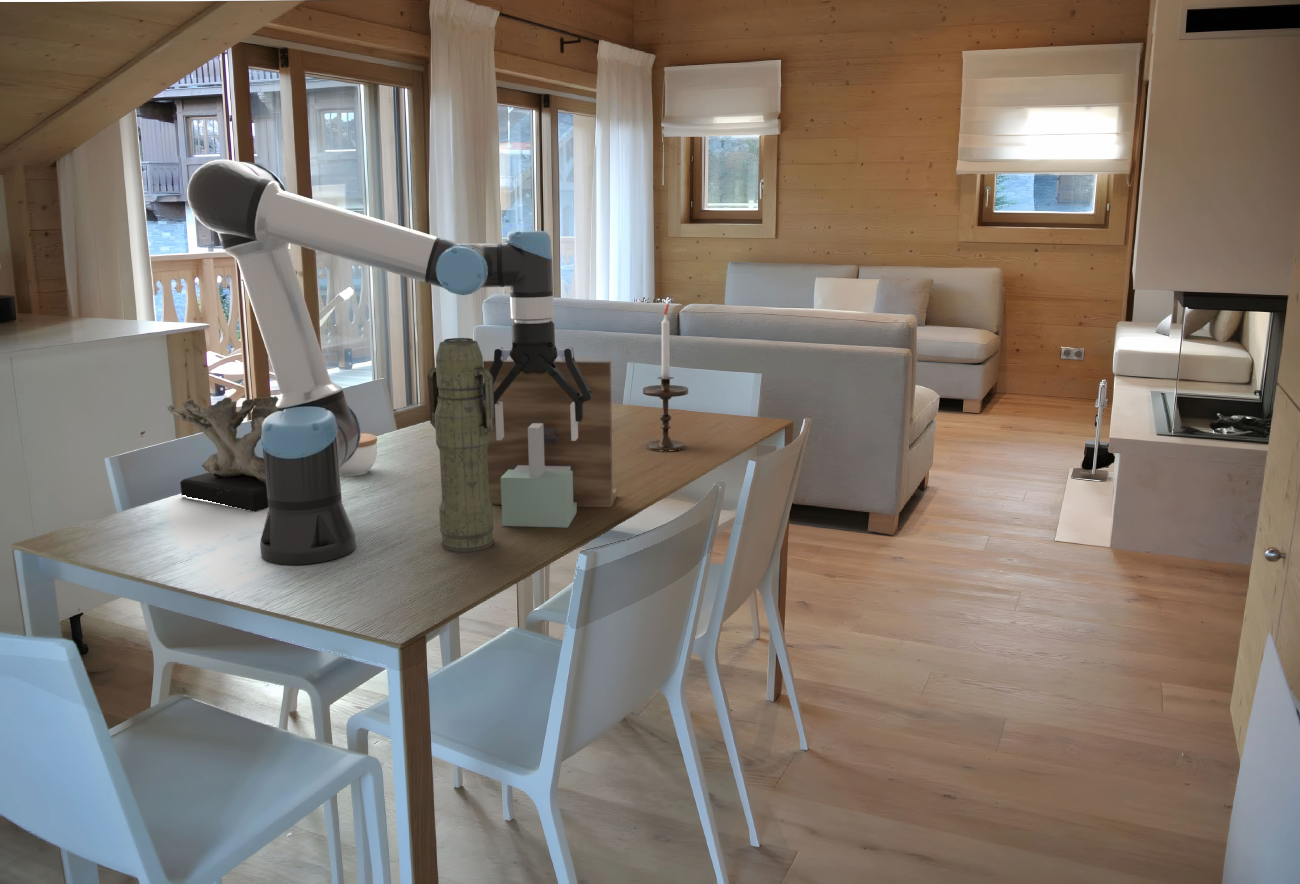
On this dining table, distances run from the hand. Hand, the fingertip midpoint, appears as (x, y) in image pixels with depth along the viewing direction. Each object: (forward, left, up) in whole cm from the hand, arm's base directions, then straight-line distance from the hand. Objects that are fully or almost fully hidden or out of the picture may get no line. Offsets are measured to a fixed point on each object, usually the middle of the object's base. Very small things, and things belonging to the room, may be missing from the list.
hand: (537, 439), depth 182 cm
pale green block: (+2, 0, -15) cm, 16 cm away
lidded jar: (+32, +48, -16) cm, 60 cm away
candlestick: (+62, -18, -16) cm, 67 cm away
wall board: (+12, 0, -16) cm, 20 cm away
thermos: (-14, +10, -16) cm, 23 cm away
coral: (+8, +62, -16) cm, 65 cm away
